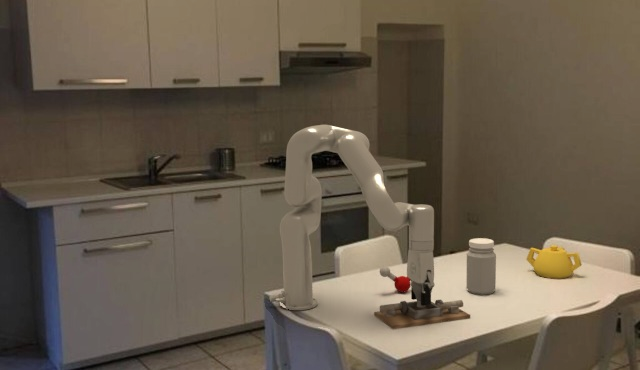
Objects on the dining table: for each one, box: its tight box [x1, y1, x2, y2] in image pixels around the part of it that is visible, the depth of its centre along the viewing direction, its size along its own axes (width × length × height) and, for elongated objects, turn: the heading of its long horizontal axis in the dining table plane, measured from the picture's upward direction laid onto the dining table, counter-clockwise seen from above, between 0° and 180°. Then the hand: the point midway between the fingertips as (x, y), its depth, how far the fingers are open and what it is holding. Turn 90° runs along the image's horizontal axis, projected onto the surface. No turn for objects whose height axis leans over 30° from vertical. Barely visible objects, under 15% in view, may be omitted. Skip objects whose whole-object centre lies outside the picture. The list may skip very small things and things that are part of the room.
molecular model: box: [379, 265, 411, 293], centre depth 247 cm, size 18×6×10 cm, turn 117°
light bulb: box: [412, 281, 428, 308], centre depth 220 cm, size 6×6×10 cm
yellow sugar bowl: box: [526, 244, 582, 280], centre depth 267 cm, size 20×18×11 cm
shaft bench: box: [373, 299, 471, 330], centre depth 221 cm, size 26×14×5 cm, turn 109°
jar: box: [465, 237, 497, 296], centre depth 245 cm, size 10×10×18 cm
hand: (421, 301), depth 221 cm, fingers closed on light bulb, 5 cm apart
